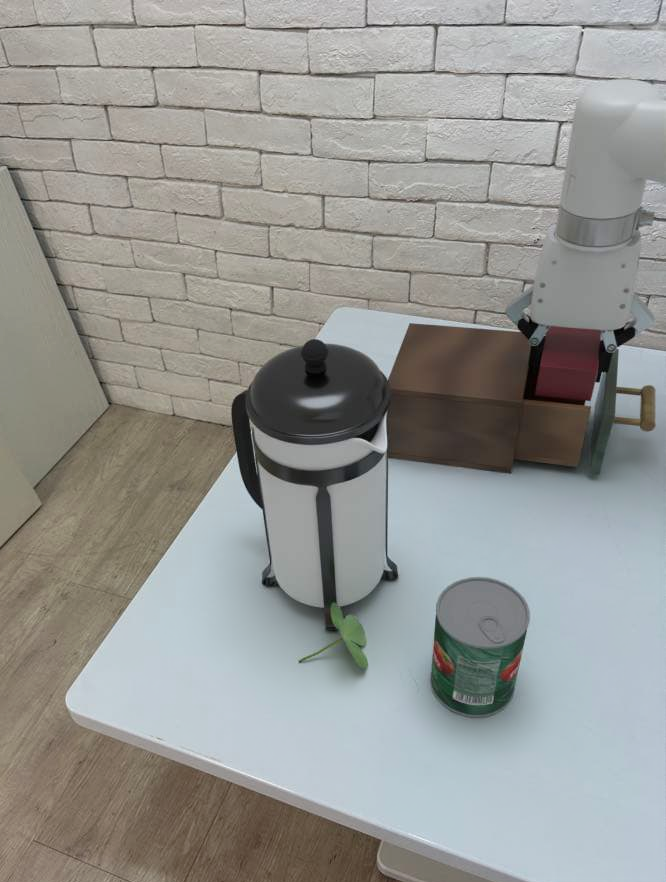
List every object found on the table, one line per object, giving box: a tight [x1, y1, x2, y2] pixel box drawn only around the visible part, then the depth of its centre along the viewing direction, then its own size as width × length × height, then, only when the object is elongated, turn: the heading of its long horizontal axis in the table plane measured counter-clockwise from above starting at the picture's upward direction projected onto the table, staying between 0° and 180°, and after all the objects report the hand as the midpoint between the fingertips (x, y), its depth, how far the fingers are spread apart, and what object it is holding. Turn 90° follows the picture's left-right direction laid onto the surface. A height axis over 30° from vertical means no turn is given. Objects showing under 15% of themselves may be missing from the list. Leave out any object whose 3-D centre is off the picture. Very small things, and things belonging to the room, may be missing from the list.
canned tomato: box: [429, 576, 531, 718], centre depth 73 cm, size 8×8×11 cm
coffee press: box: [230, 338, 399, 631], centre depth 78 cm, size 17×16×30 cm
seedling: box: [298, 602, 369, 669], centre depth 80 cm, size 7×8×7 cm
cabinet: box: [387, 322, 531, 474], centre depth 100 cm, size 16×15×11 cm
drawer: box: [514, 348, 657, 476], centre depth 96 cm, size 19×13×9 cm
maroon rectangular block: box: [535, 326, 602, 402], centre depth 92 cm, size 9×6×4 cm, turn 161°
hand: (566, 371), depth 93 cm, fingers closed on maroon rectangular block, 6 cm apart
